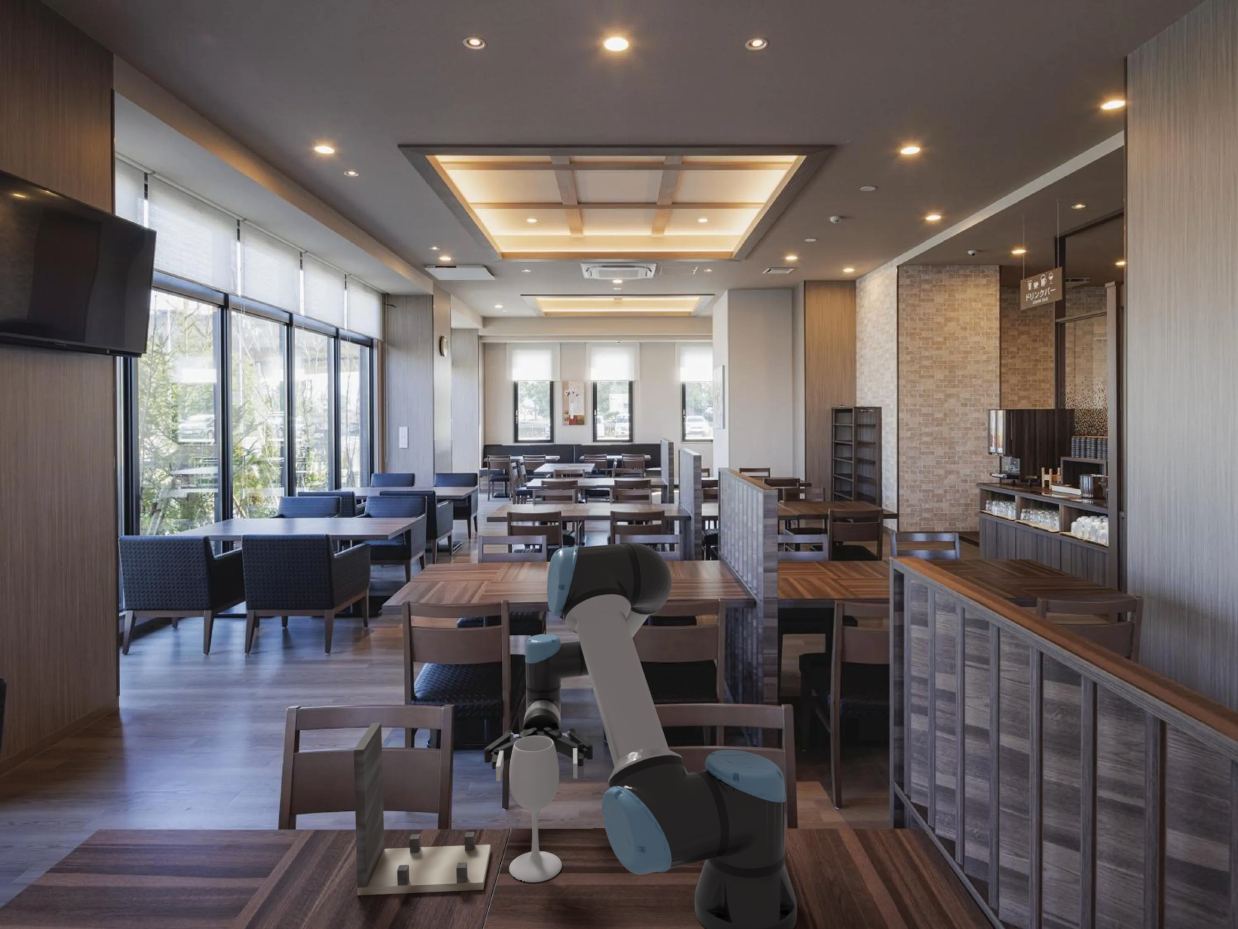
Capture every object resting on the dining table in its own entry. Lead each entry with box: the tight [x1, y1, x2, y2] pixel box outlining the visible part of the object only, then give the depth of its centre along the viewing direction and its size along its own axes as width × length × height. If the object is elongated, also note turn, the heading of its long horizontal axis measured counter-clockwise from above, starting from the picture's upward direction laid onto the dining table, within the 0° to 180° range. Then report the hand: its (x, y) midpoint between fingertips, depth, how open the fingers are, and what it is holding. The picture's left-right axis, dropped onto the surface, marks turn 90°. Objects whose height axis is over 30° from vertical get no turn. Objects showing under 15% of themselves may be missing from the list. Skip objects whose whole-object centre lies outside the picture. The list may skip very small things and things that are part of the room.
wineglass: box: [508, 736, 563, 883], centre depth 126 cm, size 9×9×21 cm
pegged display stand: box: [353, 721, 492, 896], centre depth 125 cm, size 20×11×23 cm, turn 93°
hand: (536, 772), depth 135 cm, fingers open, 13 cm apart
